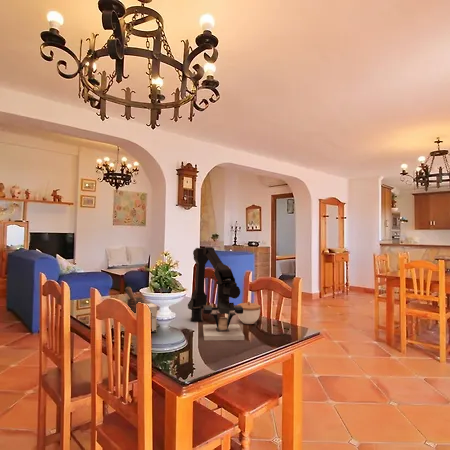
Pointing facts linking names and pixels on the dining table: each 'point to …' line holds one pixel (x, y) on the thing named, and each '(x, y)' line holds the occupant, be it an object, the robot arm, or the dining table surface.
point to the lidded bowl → (249, 313)
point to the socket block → (231, 334)
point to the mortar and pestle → (133, 299)
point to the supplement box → (153, 315)
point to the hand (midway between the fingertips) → (222, 327)
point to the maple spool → (222, 324)
